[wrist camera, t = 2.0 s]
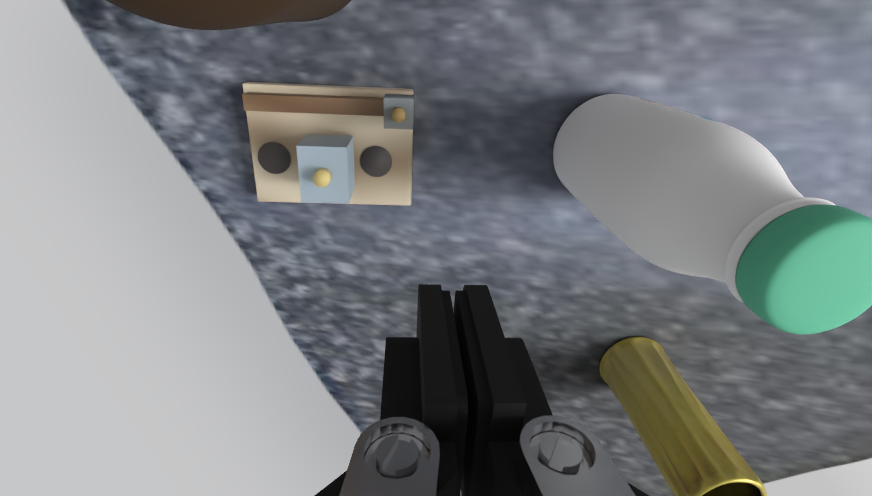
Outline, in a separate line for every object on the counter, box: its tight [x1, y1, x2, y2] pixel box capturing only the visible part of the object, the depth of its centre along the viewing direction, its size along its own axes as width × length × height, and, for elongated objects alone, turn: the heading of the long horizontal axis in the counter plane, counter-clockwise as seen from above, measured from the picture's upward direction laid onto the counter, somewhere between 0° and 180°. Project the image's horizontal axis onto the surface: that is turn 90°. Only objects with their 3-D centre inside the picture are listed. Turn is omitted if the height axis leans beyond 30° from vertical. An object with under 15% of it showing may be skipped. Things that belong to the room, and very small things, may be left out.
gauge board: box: [242, 82, 414, 205], centre depth 30 cm, size 8×11×5 cm
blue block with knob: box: [296, 134, 355, 204], centre depth 29 cm, size 4×3×4 cm
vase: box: [600, 337, 767, 496], centre depth 36 cm, size 6×6×14 cm
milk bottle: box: [553, 94, 872, 334], centre depth 24 cm, size 8×8×20 cm
